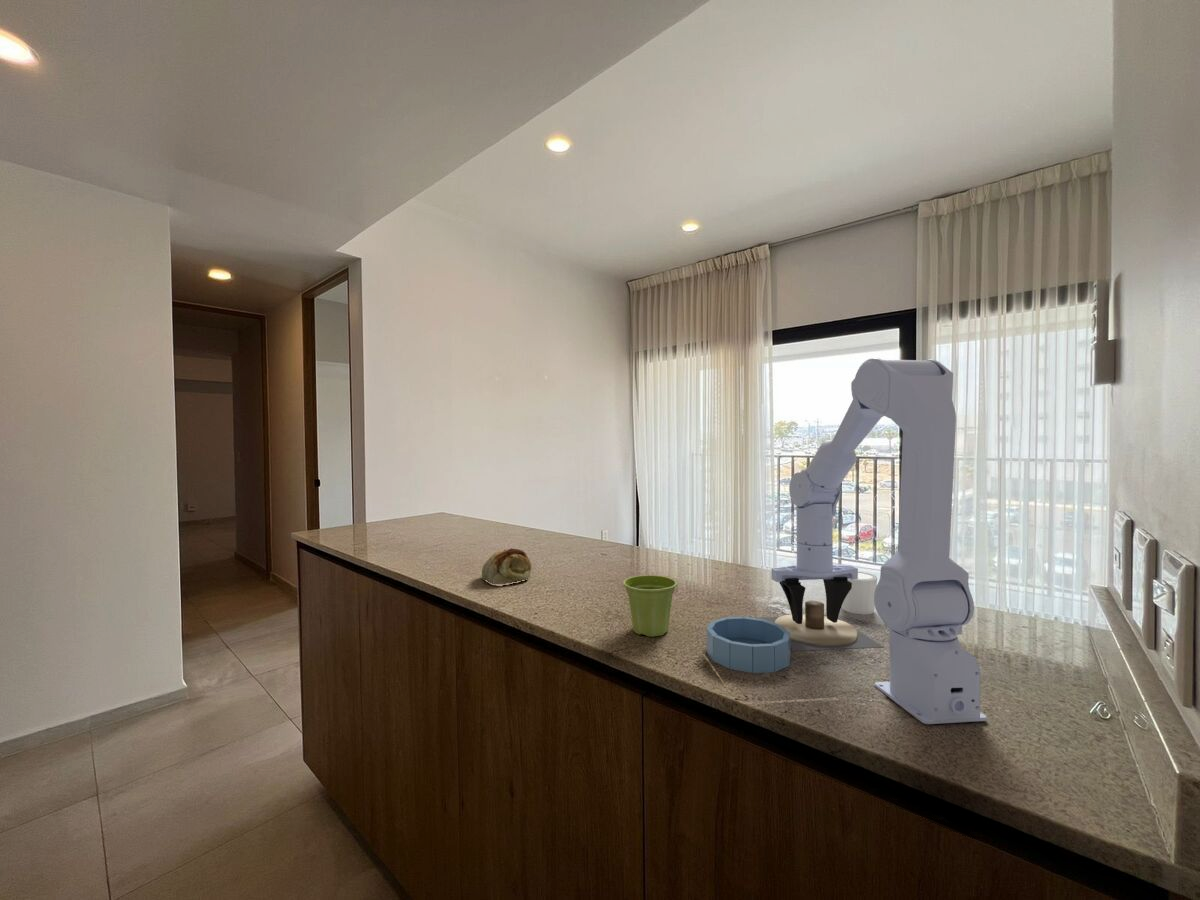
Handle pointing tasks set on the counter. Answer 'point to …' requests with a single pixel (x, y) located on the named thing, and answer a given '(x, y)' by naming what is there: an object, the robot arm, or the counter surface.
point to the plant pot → (650, 603)
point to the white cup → (861, 594)
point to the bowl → (748, 644)
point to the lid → (818, 627)
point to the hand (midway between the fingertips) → (814, 621)
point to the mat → (860, 642)
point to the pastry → (507, 567)
